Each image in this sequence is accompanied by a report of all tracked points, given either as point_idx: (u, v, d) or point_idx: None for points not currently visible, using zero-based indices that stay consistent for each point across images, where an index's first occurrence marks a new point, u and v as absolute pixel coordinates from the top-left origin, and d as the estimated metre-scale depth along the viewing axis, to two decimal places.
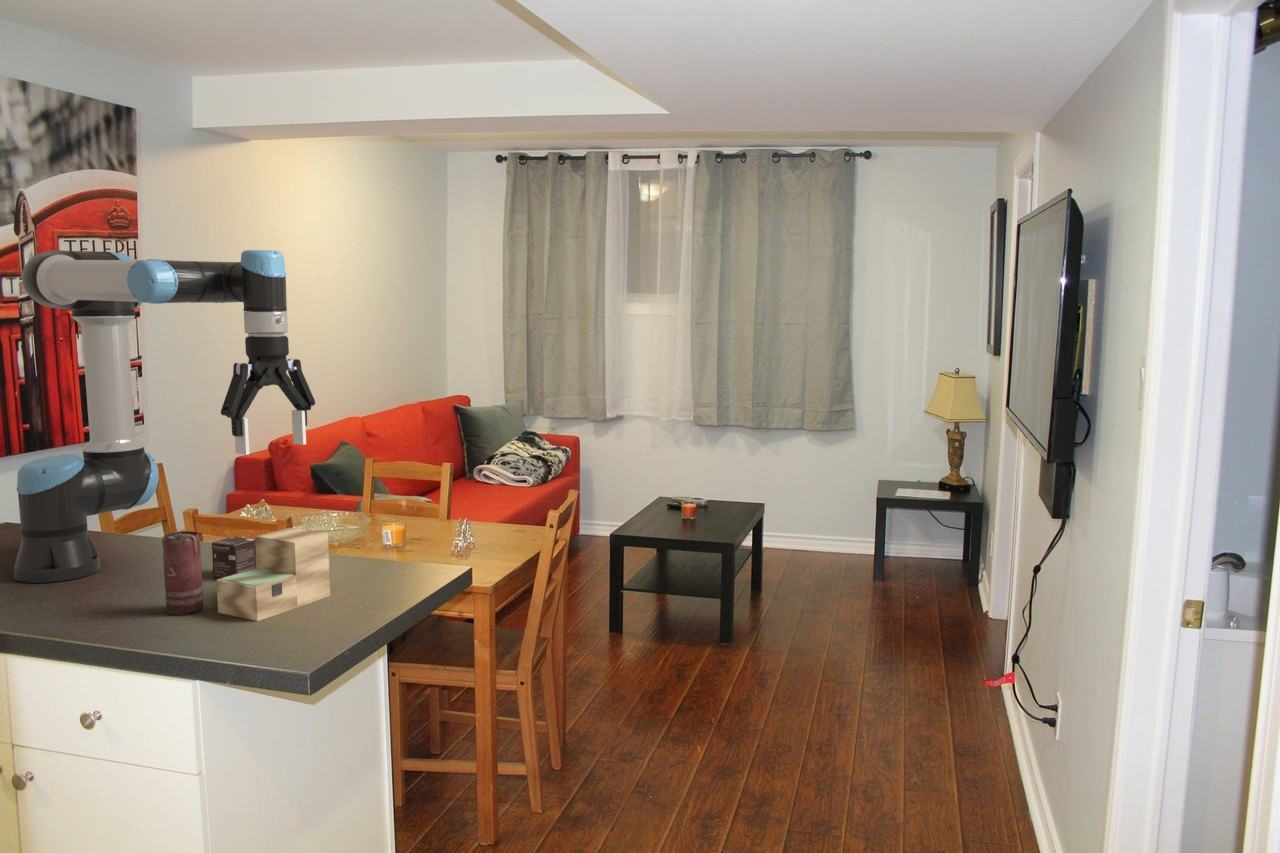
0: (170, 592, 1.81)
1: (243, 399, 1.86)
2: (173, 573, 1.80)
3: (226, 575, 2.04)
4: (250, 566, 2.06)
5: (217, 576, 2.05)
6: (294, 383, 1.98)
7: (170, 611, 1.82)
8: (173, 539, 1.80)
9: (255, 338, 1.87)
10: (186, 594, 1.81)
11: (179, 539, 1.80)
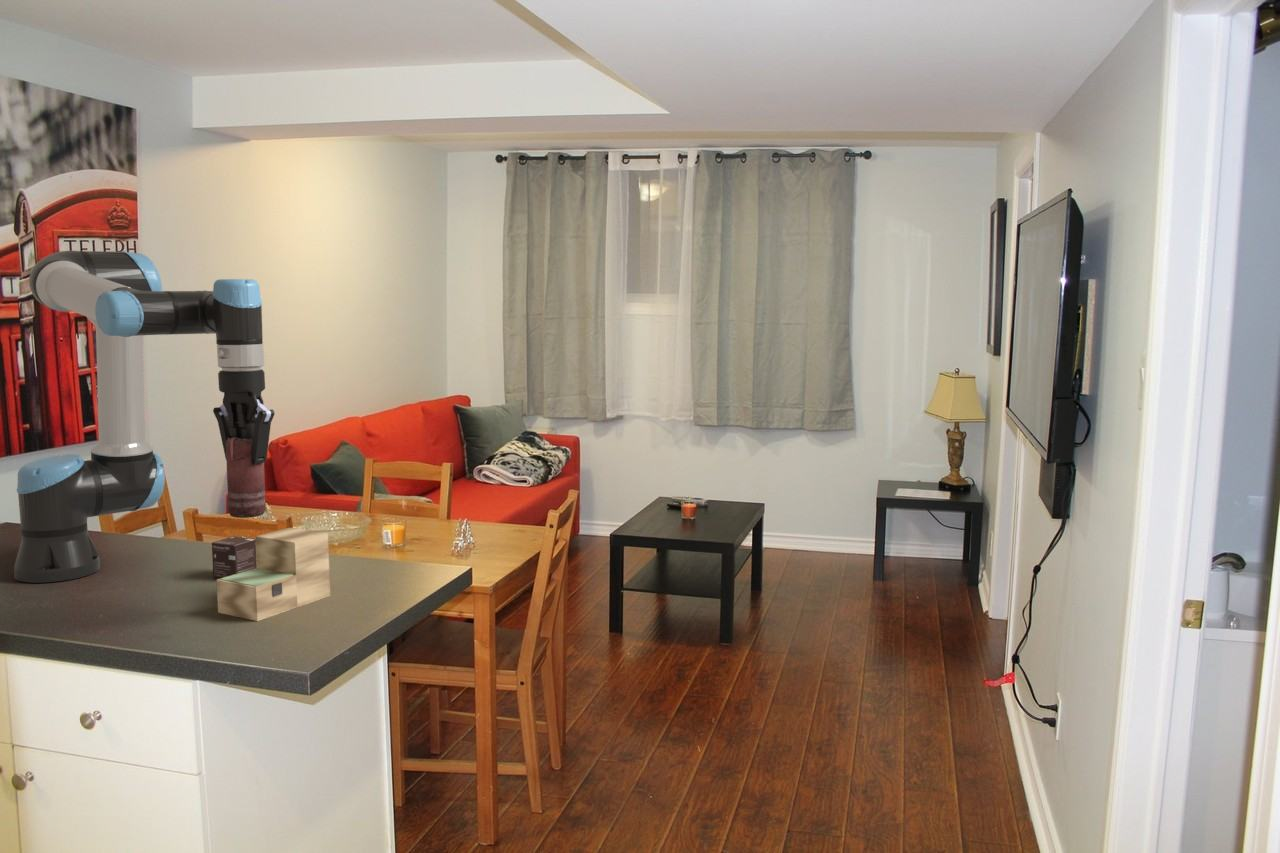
0: None
1: None
2: None
3: (226, 575, 2.04)
4: (250, 566, 2.06)
5: (217, 576, 2.05)
6: None
7: None
8: (229, 437, 1.80)
9: None
10: (228, 495, 1.80)
11: None
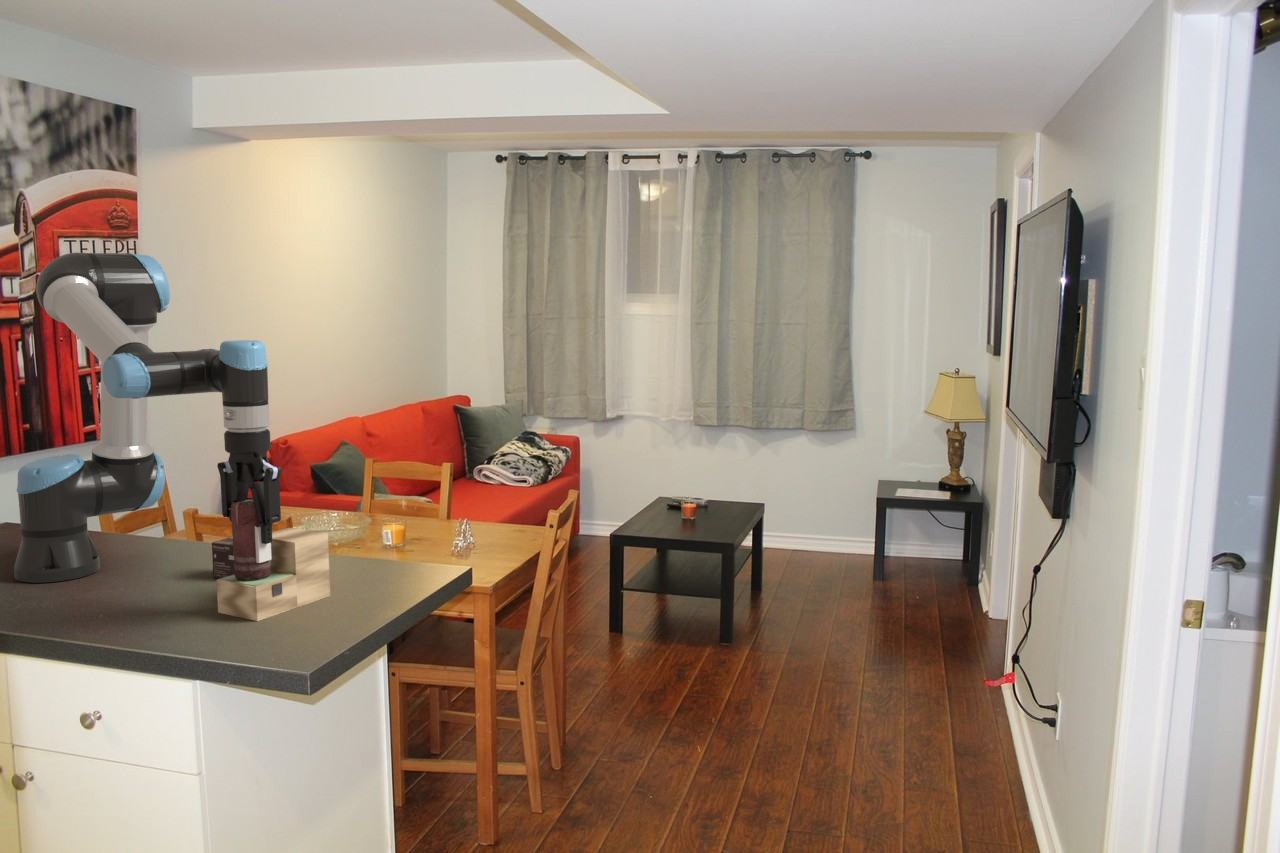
0: None
1: None
2: None
3: (226, 575, 2.04)
4: None
5: (217, 576, 2.05)
6: None
7: None
8: None
9: None
10: None
11: None
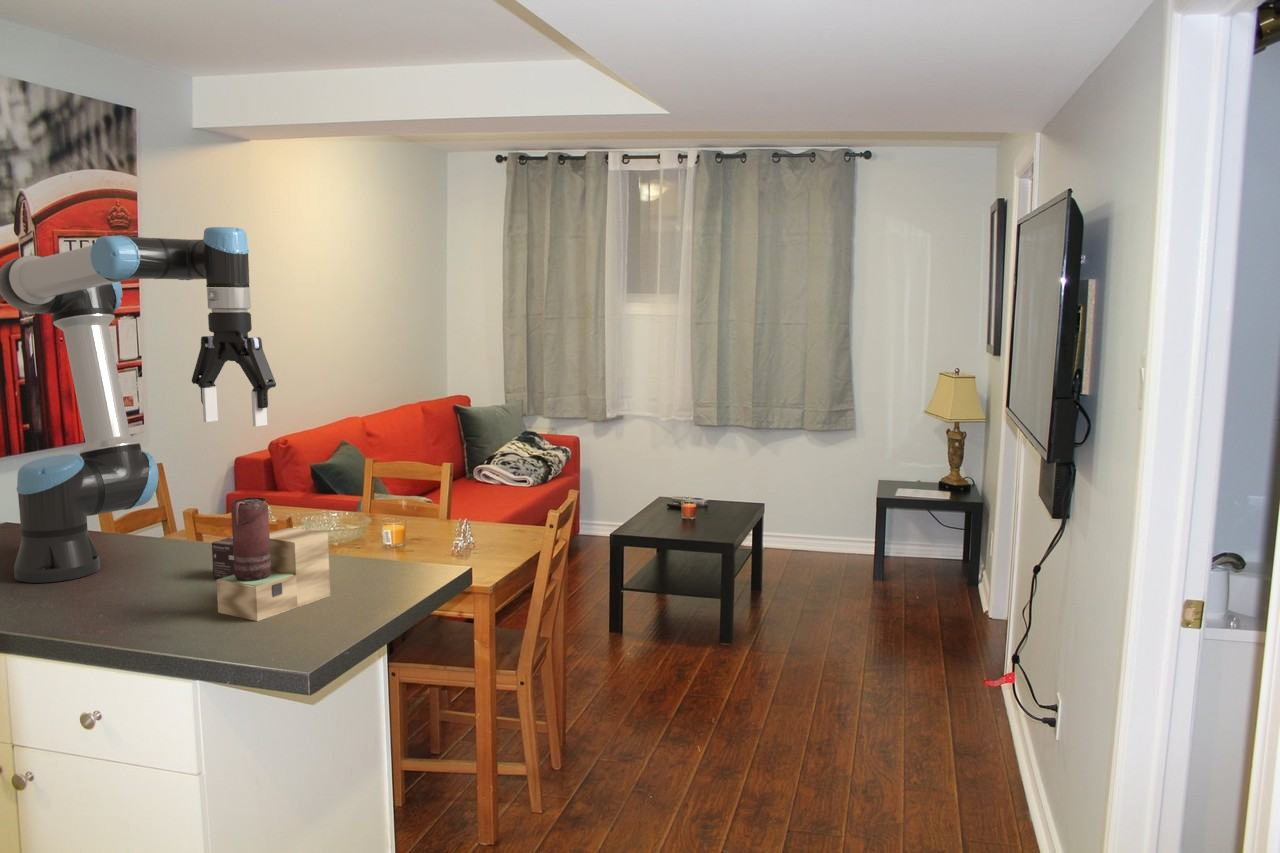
0: None
1: None
2: None
3: (226, 575, 2.04)
4: None
5: (217, 576, 2.05)
6: None
7: None
8: (234, 501, 1.82)
9: None
10: (234, 558, 1.82)
11: None
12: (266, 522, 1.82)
